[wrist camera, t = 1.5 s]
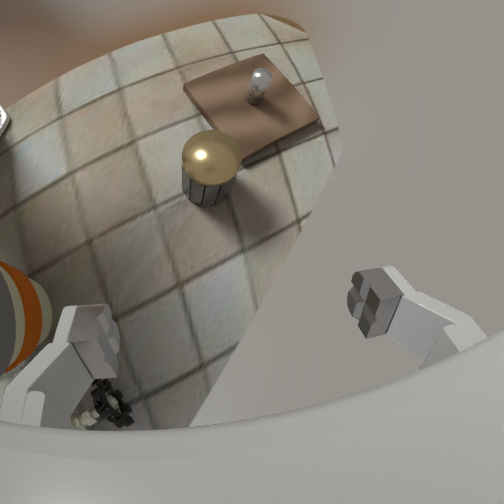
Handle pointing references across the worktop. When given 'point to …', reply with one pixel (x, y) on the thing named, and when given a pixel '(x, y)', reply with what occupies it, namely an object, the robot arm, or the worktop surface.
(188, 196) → the gold-topped grooved cylinder
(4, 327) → the reusable coffee cup
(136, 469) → the robot arm
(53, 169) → the worktop surface
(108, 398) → the valve
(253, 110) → the post board
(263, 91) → the steel post
